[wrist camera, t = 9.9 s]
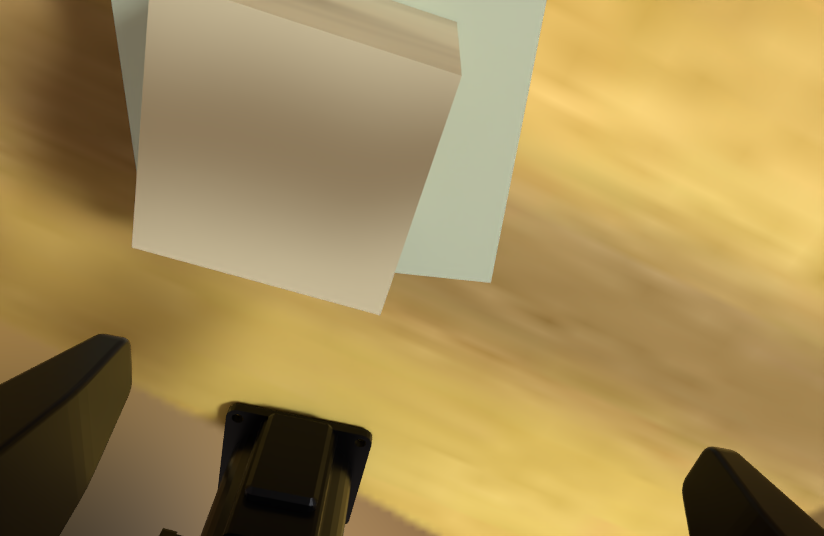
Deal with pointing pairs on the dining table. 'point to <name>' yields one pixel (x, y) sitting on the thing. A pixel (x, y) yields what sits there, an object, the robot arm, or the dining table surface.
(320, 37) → the birch cube
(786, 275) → the dining table surface
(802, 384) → the dining table surface
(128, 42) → the sage block
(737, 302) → the dining table surface
